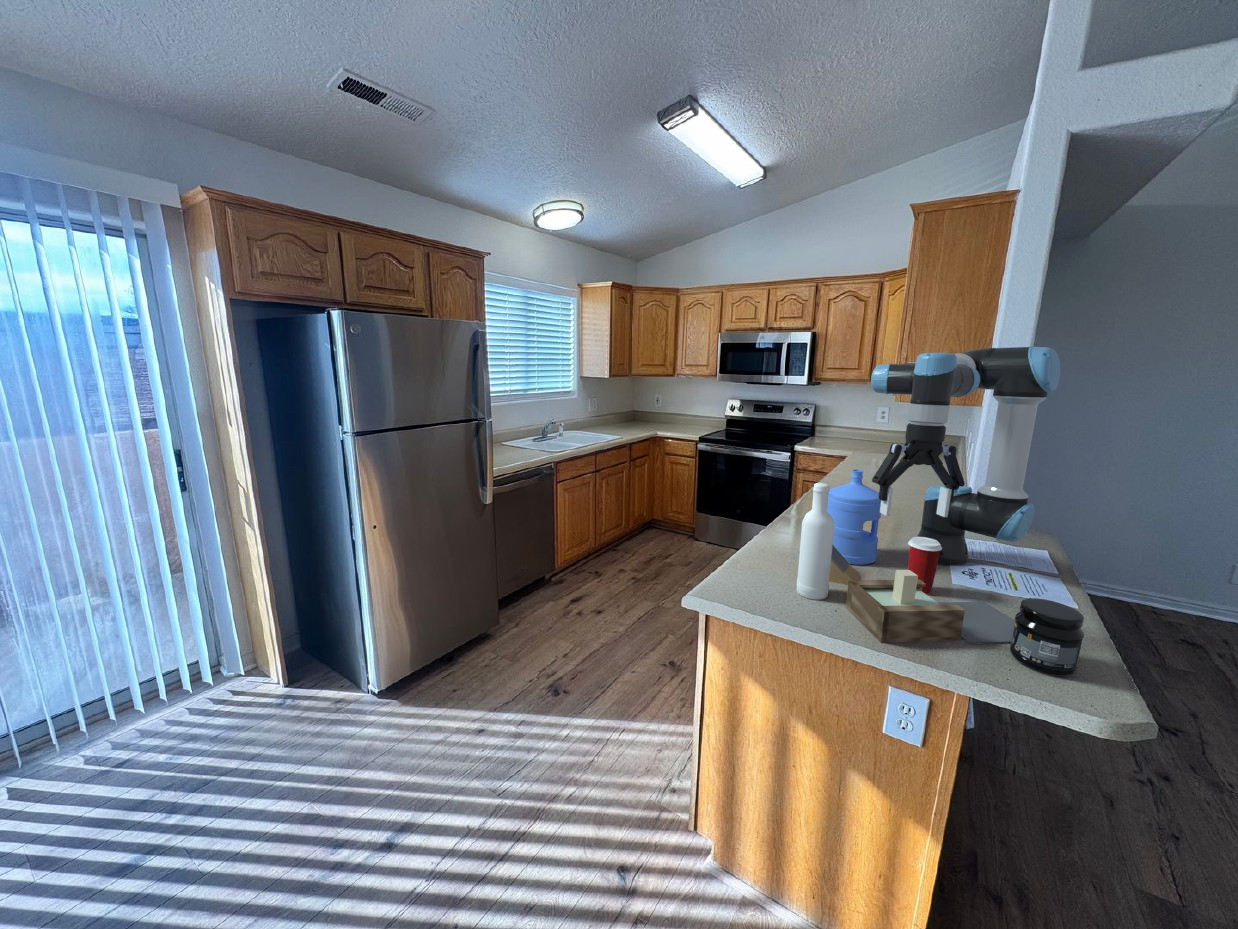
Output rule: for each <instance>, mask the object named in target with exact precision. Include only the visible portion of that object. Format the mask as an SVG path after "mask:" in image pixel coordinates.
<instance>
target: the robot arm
mask: <svg viewBox="0 0 1238 929" xmlns="http://www.w3.org/2000/svg"><path fill="white" fill-rule="evenodd" d="M870 379H871V380H870V385H871V388H872V390H873V392H875V393H879V394H886V395H888V394H889V395H911V397H910V401H909V402H910V403H909V410H908V417H907V418H908V419H907V420H908V422H910V423H908V424H906V429H905V435H904V437H905V443H904V445H902V444H898V443H897V444H896V443H891V444H890V447H889V452H888V453H887V455H886V457H885V458H884V459H883V462H882V463H881V465H880V466H879V468H878V469H877V471H875V474H874V475H873V477H872V478H871V482H872V483H874V484H877V485H878V486H879V491H878V493H879V499H880V500H881V506H880V513H881V515H884V516H886V517H889V516H890V513H891V507H892V501H893V500H892V499H893V493H894V488H893V487H892V485H893V484H894V483H895V482H896V481H897V480H898V479H900V477H901V476H902V475H903V474H904V473H905V472H906V471H907V470H908V469H909V468H910V467H913V466H914V465H916V466H921V465H925V466H930V467H931V468H932V469H933V471H934V473H935V475H937V477H938V478H939V480H940V481H941V483H942V484H935V485H931V486H928V488H927V489H926V492H925V496H924V499H923V509H922V519H921V524H920V526H921V527H920V530H919V532H918V534H917V536H916V537H926V538H931V539H934V540H937V541H938V542H939V543H940V544H941V547H942V550H940V554H939V559H938V564H941V565H942V564H943V565H949V566H950V565H951V566H959V565H960V566H961V565H965V564H967V563H968V560H969V555H970V554H969V551H968V546H967V541H966V538H965V536H966V532H968V533H969V532H970V533H974V534H977V535H981V536H987V537H989V538H994V539H996V540H997V541H1000V540H1002V541H1007V542H1011V543H1012V542H1017V541H1020V540H1021V539H1022V538H1023V537H1024V536H1025V535H1026V534H1027V532H1028V531H1029V529H1030V527H1031V524H1032V522H1033V520H1034V517H1035V514H1036V513H1035V512H1036V508H1035V505H1034V504H1032V503H1031V502H1029V495H1028V494H1027V493H1026V491H1024V485H1025V484H1024V483H1025V478H1026V472H1027V469H1028V461H1029V458H1030V450H1031V447H1032V446H1031V445H1032V439H1033V435H1034V429H1035V424H1036V417H1037V413H1038V407H1039V405H1040V403H1041V402H1043V401H1045V400H1047V398H1048V393H1051V392H1054V391H1056V390H1057V388H1058V386H1059V383H1060V379H1061V361H1060V356H1059V355H1058V353H1057V351H1056V350H1055V349H1053V348H1051V347H1046V346H1043V347H1042V346H1020V347H1019V346H1018V347H1016V346H1015V347H985V348H978V349H974V350H968V351H963V352H956V353H951V352H950V353H949V352H924V353H923V352H922V353H920V354H919V355H918V356H917V357H916V361H913V362H904V363H885V364H883V363H882V364H879V365H877V366H875V368H874V369H873V371H872V373H871V378H870ZM977 389H979V390H993V392H992V397H993V399H995V401H997V410H996V415H995V421H994V429H993V435H992V438H991V439H992V440H991V445H990V453H989V457H988V458H989V459H988V464H987V470H986V471H987V472H986V477H985V482H984V485H983V486H981V487H979V488H978V489H977V492H976V493H974V492H973V489H972V487H971V486H968V485H965V480H964V476H963V474H962V471H961V468H960V464H959V462H958V458H957V446H954V445H950V444H945V445H944V446H943V442H944V441H945V438H946V432H947V431H946V430H947V427H946V425H945V424H947V423H948V420H949V412H950V404H951V398H962V397H967V396H969V395H971V394H973V393H974V392H976V390H977ZM903 453H904V455H903V456H901V455H902V454H903ZM940 455H943V458H944V463H945V465H946V467H945V466H944V463H943V461H942V459H941V458H940ZM900 456H901V458H900ZM899 458H900V459H899ZM897 462H898V463H897ZM946 468H947V469H946Z"/></svg>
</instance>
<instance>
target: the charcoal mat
mask: <svg viewBox="0 0 1238 929" xmlns="http://www.w3.org/2000/svg"><path fill="white" fill-rule="evenodd" d="M936 602H937V603H939V604H940V605H958V606H960V607H961V608H963V609H964V610H965V613H964V619H963V625H962V631H961V638H960V640H963V641H964V642H966V644H969V645H976V644H977V645H982V644H984V645H986V644H991V645H992V644H1011V641H1012V636H1013V631H1014V625H1015V618H1014V619H1013V618H1012V617H1011V616H1009V615H1008V614H1006V613H1003V612H1002V611H1001V610H999V609H997V608H995V607H994V606H992V605H991V604H989V603H987V602H986V601H944V602H943V601H942V602H940V601H939V602H938V601H936Z"/></svg>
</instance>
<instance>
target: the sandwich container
mask: <svg viewBox="0 0 1238 929" xmlns="http://www.w3.org/2000/svg"><path fill="white" fill-rule="evenodd" d="M860 580H862V576H861V575H860V574H859V572H857V570H855V568H854V567H853V566H852V564H849V563H848V562H847V560H846V559H845V558H844V557H843V556H842V555H841V554H840V552H839V551H838V550H837V549H836V548H835V547H834V545H832V556H831V566H830V576H829V583H834V584H840V585H845V586H848V582H849V581H860Z"/></svg>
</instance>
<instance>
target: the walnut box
mask: <svg viewBox="0 0 1238 929" xmlns="http://www.w3.org/2000/svg"><path fill="white" fill-rule="evenodd" d="M894 581H895V579H881V580H880V579H872V580H871V579H869V580H868V579H867V580H866V579H864V580H862V579H861V580H860V581H849V582H848V585H847V591H846V592H847V594H846V602H845V609H846V610H847V611H848V612H849V613H850V614H851V615H852V616H853V617H854V618H855V619H856V620H857V621H858V622H859V623H860V624H861V625H862V626H863V627H865V629H866V630H867V631H869V633H870V634H872V635H873V637H874V638H876V640H877V641H878V642H880V643H921V642H924V643H925V642H960V641H961V631H962V625H963V619H964V613H965V610H964V609H963V608H961V607H960V606H958V605H905V606H883V605H882V604H881V603H879V602H878V601H877V600H876V599H875V598H873V597H872V596H871V595H870V594H869V593H867V592H866V591H865V590H864V589H872V588H894ZM925 586H926V584H925V583H924V582H922V581H921V580H917V587H916V588H917V589H919V590H920V587H925ZM920 591H921V590H920ZM923 593H924V592H923Z"/></svg>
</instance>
